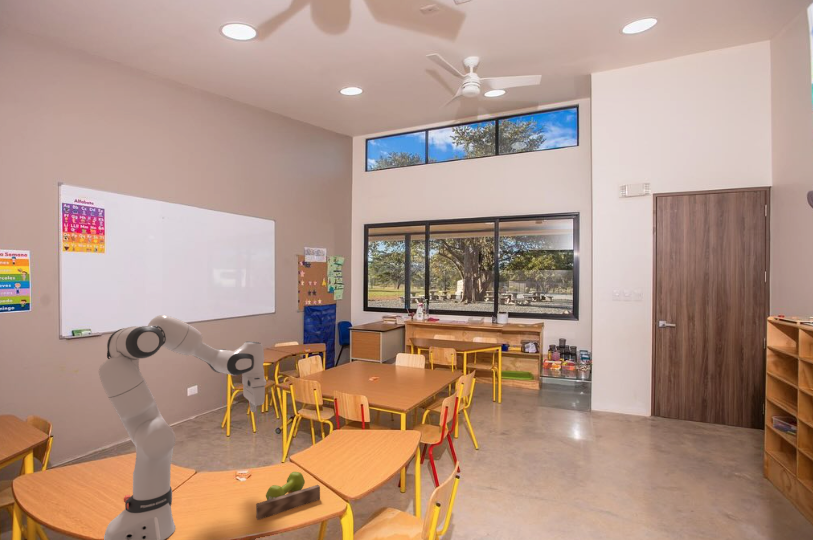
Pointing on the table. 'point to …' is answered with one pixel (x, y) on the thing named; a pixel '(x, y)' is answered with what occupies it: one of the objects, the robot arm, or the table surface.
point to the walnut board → (287, 502)
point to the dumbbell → (287, 486)
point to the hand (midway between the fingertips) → (253, 411)
